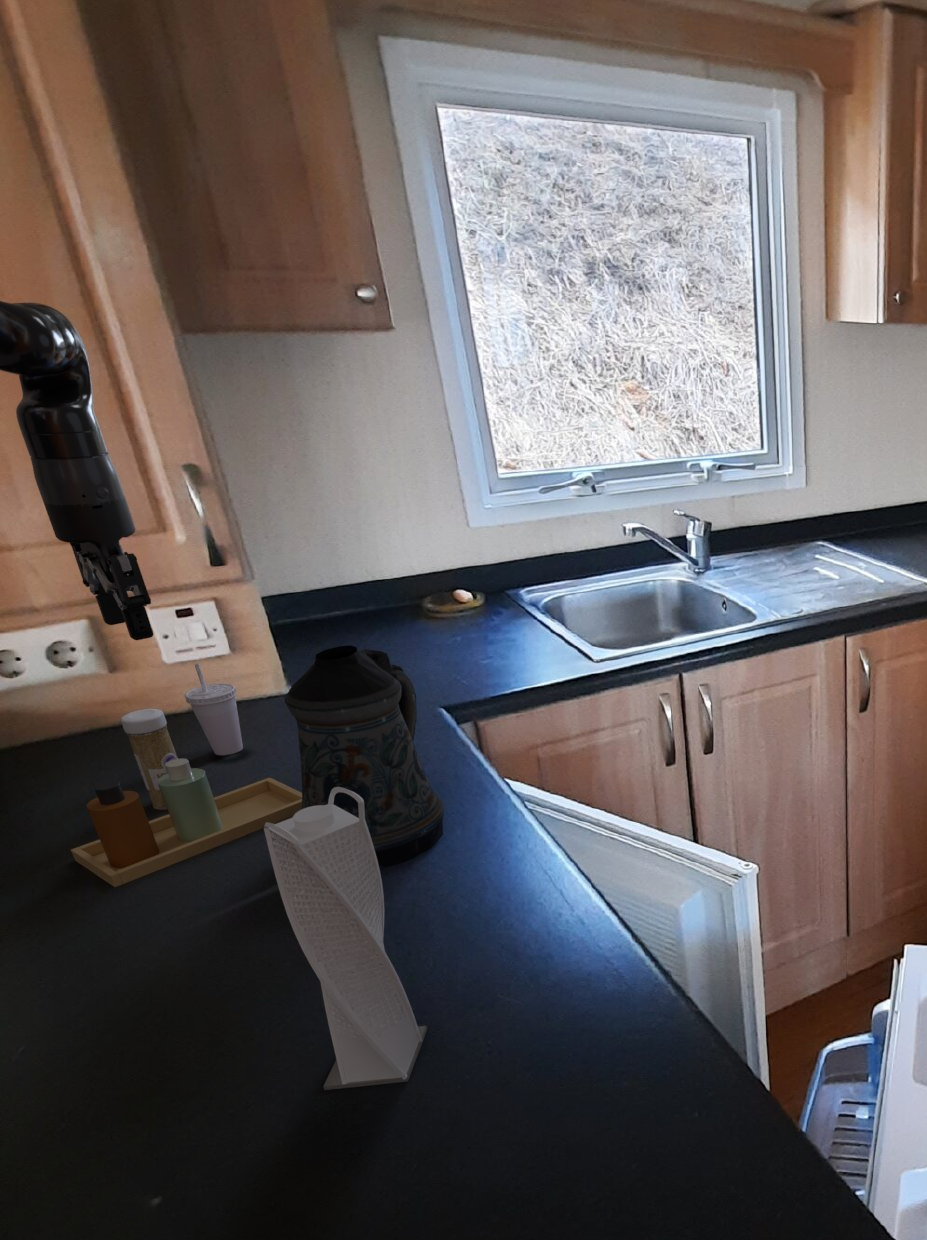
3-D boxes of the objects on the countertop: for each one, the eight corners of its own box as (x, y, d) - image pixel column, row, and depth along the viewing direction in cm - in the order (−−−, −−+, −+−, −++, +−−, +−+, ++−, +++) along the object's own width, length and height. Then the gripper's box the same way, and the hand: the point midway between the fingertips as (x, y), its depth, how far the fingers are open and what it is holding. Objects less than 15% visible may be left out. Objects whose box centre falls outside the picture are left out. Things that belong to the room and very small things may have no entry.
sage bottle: (189, 846, 122) (163, 774, 118) (169, 834, 124) (144, 764, 120) (231, 829, 126) (208, 760, 121) (211, 819, 128) (188, 750, 124)
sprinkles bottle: (180, 813, 131) (148, 721, 125) (145, 813, 131) (111, 721, 124) (200, 797, 135) (170, 707, 129) (166, 797, 135) (134, 707, 129)
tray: (116, 891, 114) (110, 876, 113) (76, 864, 119) (70, 849, 118) (315, 811, 132) (311, 797, 131) (273, 790, 137) (269, 777, 136)
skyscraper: (443, 1027, 94) (379, 768, 82) (421, 1088, 87) (348, 815, 74) (349, 1036, 93) (270, 774, 80) (320, 1099, 86) (227, 823, 73)
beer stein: (296, 884, 116) (236, 688, 105) (317, 810, 132) (266, 633, 121) (447, 859, 121) (405, 670, 110) (449, 791, 138) (413, 620, 126)
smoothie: (196, 751, 147) (166, 664, 141) (241, 737, 152) (214, 652, 146) (216, 763, 144) (186, 674, 138) (261, 748, 149) (235, 661, 143)
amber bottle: (121, 872, 116) (91, 799, 112) (102, 860, 119) (72, 787, 114) (167, 854, 120) (140, 782, 116) (148, 843, 123) (121, 772, 118)
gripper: (23, 491, 113) (72, 625, 120) (65, 509, 105) (114, 651, 113) (100, 483, 118) (143, 612, 126) (145, 499, 111) (187, 636, 118)
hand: (129, 630), depth 119 cm, fingers open, 8 cm apart
